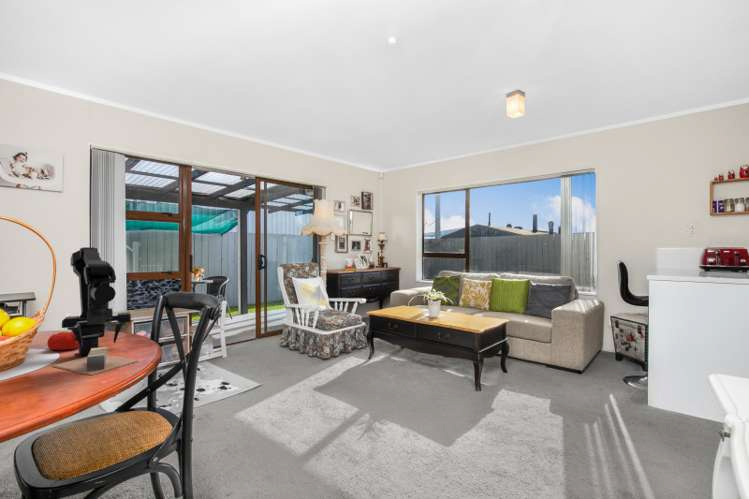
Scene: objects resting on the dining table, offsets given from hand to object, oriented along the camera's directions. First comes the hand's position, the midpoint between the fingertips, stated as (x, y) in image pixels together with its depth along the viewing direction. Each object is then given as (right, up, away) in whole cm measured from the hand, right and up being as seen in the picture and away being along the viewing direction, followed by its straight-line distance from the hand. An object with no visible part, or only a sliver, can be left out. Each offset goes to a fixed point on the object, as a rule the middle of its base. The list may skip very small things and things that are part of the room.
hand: (98, 344), depth 125 cm
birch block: (-2, -4, +3) cm, 6 cm away
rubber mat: (-1, -7, 0) cm, 7 cm away
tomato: (-27, -7, +19) cm, 34 cm away
